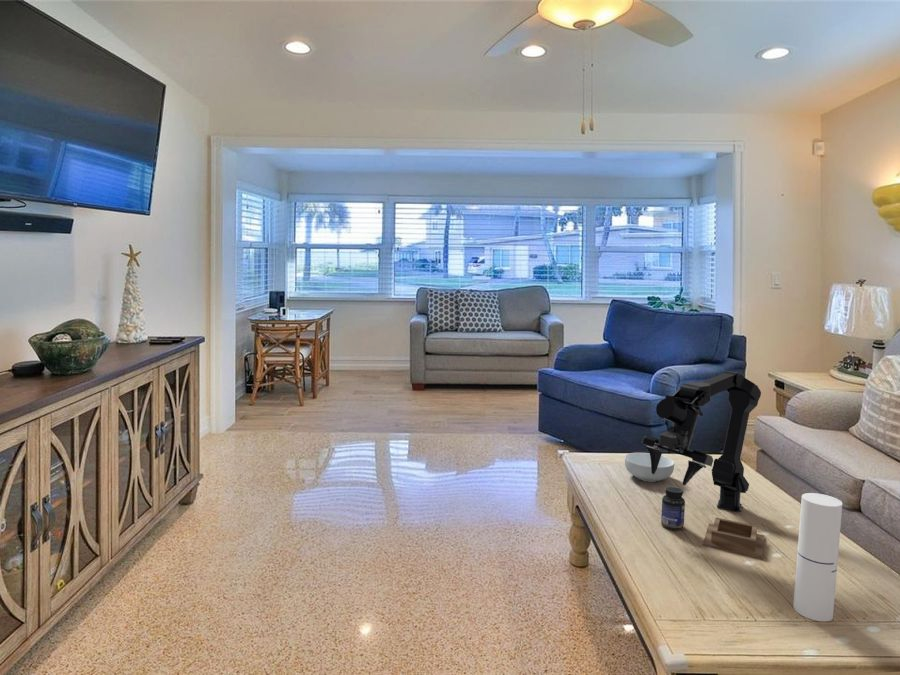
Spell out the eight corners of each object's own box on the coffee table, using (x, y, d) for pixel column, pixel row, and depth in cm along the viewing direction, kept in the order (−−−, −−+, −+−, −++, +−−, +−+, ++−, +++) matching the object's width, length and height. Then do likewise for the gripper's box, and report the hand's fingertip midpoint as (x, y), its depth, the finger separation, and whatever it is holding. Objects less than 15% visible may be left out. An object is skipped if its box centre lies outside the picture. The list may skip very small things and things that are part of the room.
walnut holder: (708, 525, 160) (709, 513, 160) (764, 537, 153) (765, 524, 153) (702, 545, 148) (703, 532, 148) (762, 559, 141) (763, 545, 141)
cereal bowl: (681, 487, 190) (682, 467, 189) (632, 486, 190) (633, 466, 190) (663, 470, 207) (663, 451, 206) (618, 469, 207) (619, 451, 206)
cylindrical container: (785, 602, 122) (793, 493, 120) (816, 601, 123) (824, 492, 120) (809, 622, 115) (818, 506, 113) (841, 620, 116) (851, 505, 113)
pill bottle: (685, 532, 156) (687, 494, 155) (662, 530, 158) (664, 492, 156) (681, 522, 162) (683, 486, 161) (659, 520, 164) (661, 484, 162)
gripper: (641, 412, 160) (625, 464, 158) (705, 431, 146) (689, 488, 145) (657, 420, 167) (642, 470, 166) (720, 438, 154) (704, 492, 152)
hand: (668, 479), depth 157 cm, fingers open, 9 cm apart
